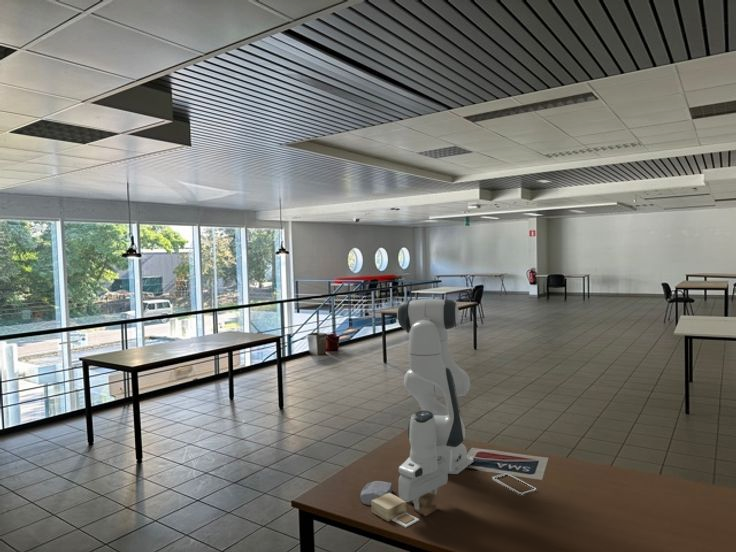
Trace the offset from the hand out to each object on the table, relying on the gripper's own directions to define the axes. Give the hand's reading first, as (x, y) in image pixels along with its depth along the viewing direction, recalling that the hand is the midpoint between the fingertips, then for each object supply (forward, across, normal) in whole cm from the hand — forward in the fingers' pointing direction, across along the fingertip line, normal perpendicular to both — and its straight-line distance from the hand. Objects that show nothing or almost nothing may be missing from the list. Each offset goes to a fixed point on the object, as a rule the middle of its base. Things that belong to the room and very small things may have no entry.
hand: (424, 505), depth 158 cm
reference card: (+2, +9, 0) cm, 9 cm away
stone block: (+2, +5, -18) cm, 19 cm away
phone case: (+2, -36, +10) cm, 37 cm away
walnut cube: (+2, 0, 0) cm, 2 cm away
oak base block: (+2, +9, -7) cm, 12 cm away
